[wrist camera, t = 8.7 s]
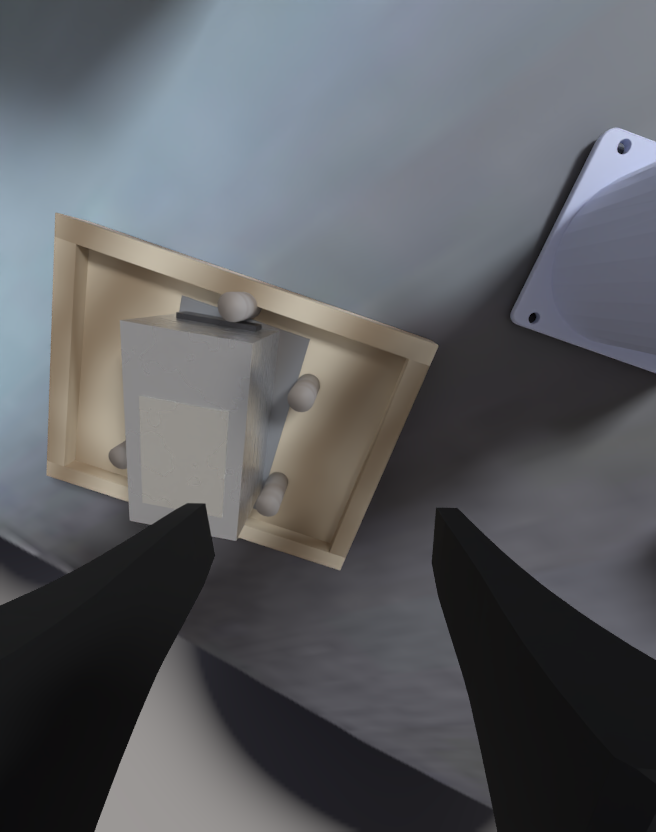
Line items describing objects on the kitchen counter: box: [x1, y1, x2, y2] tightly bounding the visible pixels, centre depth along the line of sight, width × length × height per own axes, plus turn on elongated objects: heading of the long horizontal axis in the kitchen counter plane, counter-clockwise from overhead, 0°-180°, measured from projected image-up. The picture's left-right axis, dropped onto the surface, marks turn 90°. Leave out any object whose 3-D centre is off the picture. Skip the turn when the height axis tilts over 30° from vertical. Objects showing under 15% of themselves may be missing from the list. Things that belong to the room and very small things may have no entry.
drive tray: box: [47, 213, 439, 570], centre depth 18 cm, size 18×14×4 cm
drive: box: [120, 311, 279, 541], centre depth 16 cm, size 5×9×5 cm, turn 171°
